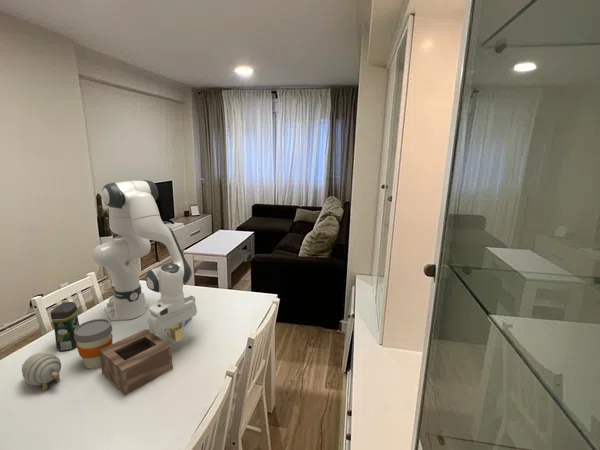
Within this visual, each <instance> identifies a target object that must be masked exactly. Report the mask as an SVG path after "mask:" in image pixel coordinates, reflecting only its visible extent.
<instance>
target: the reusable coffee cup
mask: <svg viewBox="0 0 600 450" xmlns="http://www.w3.org/2000/svg"><path fill="white" fill-rule="evenodd" d="M112 332H113V326H112V322H111V320H110V319H107V318H97V319H95V318H94V319H92V320H88V321H85V322H82V323H80V324H79V326H78V327H76V329H75V330H74V339H75V341H76V342H77V344H76V349H77V352H78V354H79V357H81V359H82V362H83V365H84V367H85V368H88V369H96V368H101V360H100V353H99V350H100V349H102V348H104V347H107V346H109V345H111V344H113V334H112Z"/></svg>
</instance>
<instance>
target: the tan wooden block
mask: <svg viewBox="0 0 600 450" xmlns="http://www.w3.org/2000/svg"><path fill="white" fill-rule="evenodd" d="M169 330H171V331H172V335H171V336H167V337H168V338H169V339H171V340H172V341H174V342H175V343H176V342H179V341H181V340H182V339H184V327H181V326H179V325H178V324H176V325H174V326H171V327H170V329H169Z"/></svg>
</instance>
